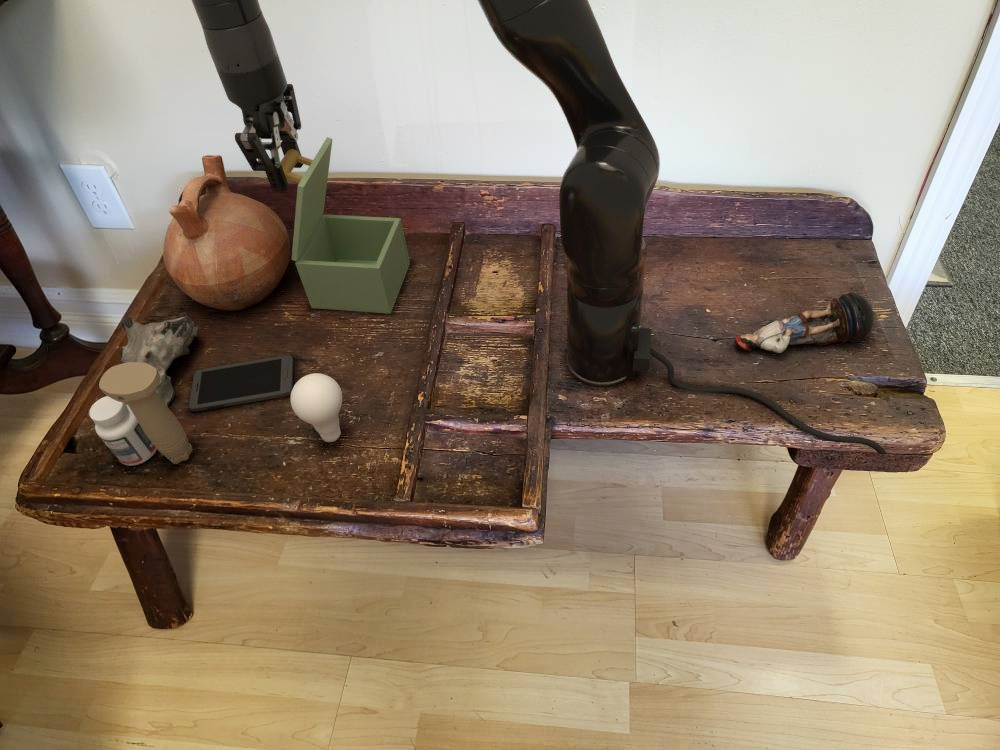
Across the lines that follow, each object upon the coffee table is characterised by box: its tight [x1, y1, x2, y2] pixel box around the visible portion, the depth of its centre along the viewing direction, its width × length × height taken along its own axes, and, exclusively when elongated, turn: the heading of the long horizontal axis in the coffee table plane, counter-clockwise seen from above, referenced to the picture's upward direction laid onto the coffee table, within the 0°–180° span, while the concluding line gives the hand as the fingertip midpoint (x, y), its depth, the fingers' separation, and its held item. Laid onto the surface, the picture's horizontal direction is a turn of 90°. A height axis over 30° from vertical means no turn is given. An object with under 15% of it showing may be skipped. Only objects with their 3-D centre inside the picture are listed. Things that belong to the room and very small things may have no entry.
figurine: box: [734, 292, 875, 354], centre depth 98 cm, size 8×7×18 cm
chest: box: [294, 213, 411, 314], centre depth 110 cm, size 13×12×9 cm
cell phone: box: [188, 354, 294, 413], centre depth 101 cm, size 7×14×1 cm, turn 99°
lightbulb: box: [289, 372, 343, 443], centre depth 90 cm, size 6×6×11 cm
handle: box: [98, 362, 194, 465], centre depth 88 cm, size 5×6×15 cm
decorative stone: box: [118, 312, 200, 408], centre depth 101 cm, size 16×9×10 cm, turn 178°
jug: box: [162, 154, 291, 312], centre depth 108 cm, size 18×18×20 cm
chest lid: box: [280, 136, 333, 262], centre depth 102 cm, size 14×12×5 cm
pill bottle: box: [88, 395, 158, 467], centre depth 92 cm, size 5×5×9 cm
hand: (289, 177), depth 100 cm, fingers closed on chest lid, 5 cm apart
